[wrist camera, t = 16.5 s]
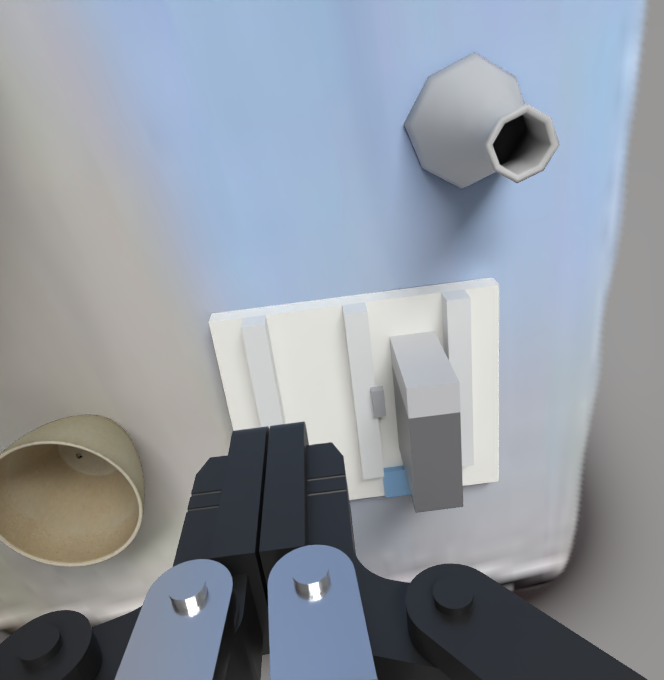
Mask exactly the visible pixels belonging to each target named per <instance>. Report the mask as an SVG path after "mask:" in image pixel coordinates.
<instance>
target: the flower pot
mask: <svg viewBox="0 0 664 680" xmlns="http://www.w3.org/2000/svg"><path fill="white" fill-rule="evenodd" d="M79 456H82V457H81V458H79ZM143 510H144V477H143V471H142V466H141V462H140V459H139V456H138V453H137V451H136V448H135V446H134V444H133V442H132V441H131V439H130V438H129V436H128V435H127V433H126V432H125V431H124V430H123V429H122V428H121V427H120V426H119V425H118V424H117V423H115V422H114V421H112V420H110V419H108V418H105V417H102V416H98V415H78V416H71V417H67V418H63V419H59V420H56V421H53V422H50V423H48V424H46V425H43V426H41V427H39V428H37V429H35V430H33V431H31V432H30V433H28V434H26V435H25V436H23V437H22V438H20V439H19V440H17V441H16V442H14V443H13V444H12V445H10V446H9V447H8V448H7V449H5V450H4V451H3V452H2V453H1V454H0V541H1V542H2V543H4V544H5V545H6V546H7V547H9V548H10V549H12V550H13V551H15V552H17V553H19V554H21V555H23V556H25V557H27V558H29V559H32V560H35V561H38V562H41V563H45V564H49V565H55V566H66V567H77V566H86V565H92V564H96V563H99V562H103V561H105V560H108V559H110V558H112V557H114V556H116V555H117V554H119V553H120V552H122V551H123V550H124V549H125V548H126V547H127V546H128V545H129V544H130V543H131V542H132V541H133V539H134V538H135V537H136V535H137V533H138V531H139V528H140V526H141V522H142V517H143Z"/></svg>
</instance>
